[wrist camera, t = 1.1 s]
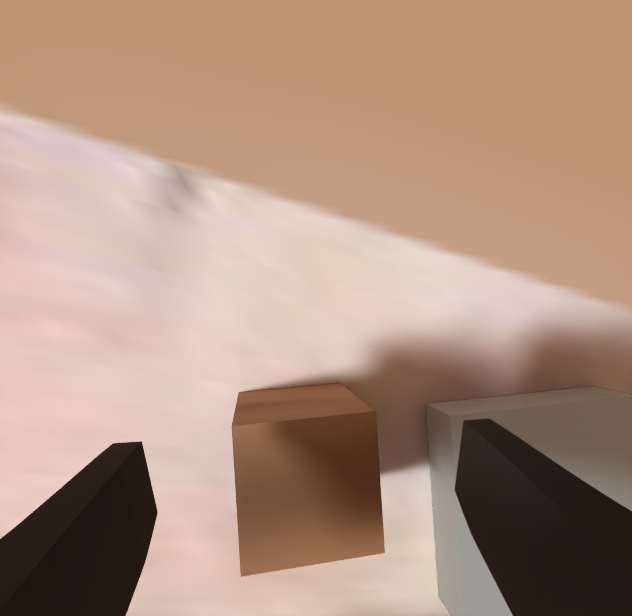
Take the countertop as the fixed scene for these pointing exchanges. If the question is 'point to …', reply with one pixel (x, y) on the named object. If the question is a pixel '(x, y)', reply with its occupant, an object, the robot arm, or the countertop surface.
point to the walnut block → (305, 477)
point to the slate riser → (545, 436)
